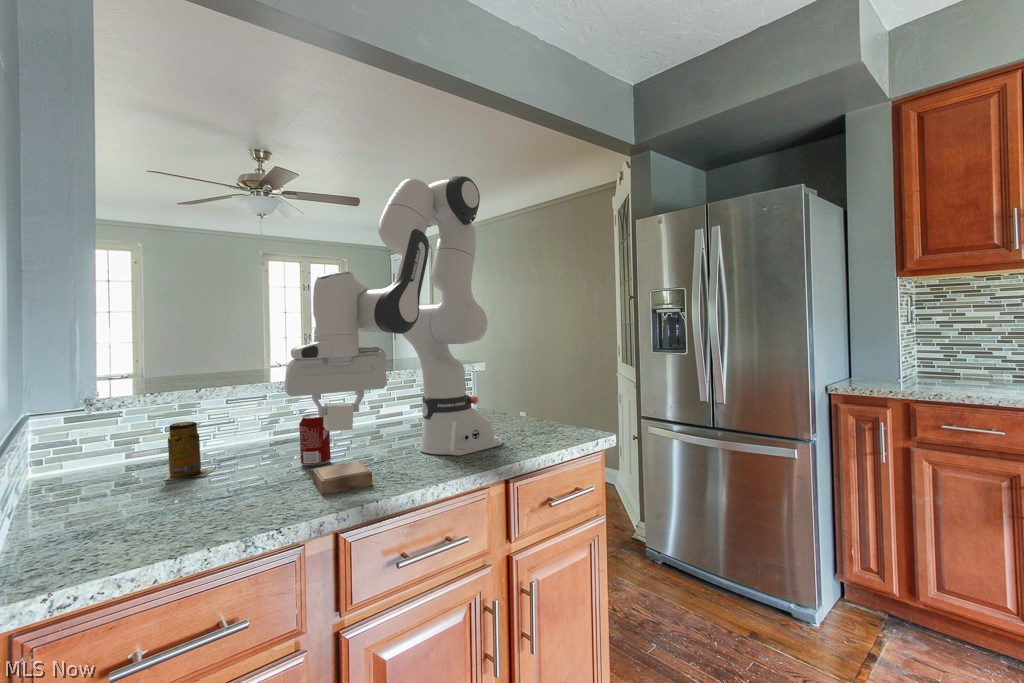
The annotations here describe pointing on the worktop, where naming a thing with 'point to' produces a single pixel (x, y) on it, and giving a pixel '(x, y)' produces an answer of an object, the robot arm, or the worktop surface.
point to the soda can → (314, 441)
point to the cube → (338, 416)
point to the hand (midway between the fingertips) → (338, 413)
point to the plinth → (341, 477)
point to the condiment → (184, 452)
